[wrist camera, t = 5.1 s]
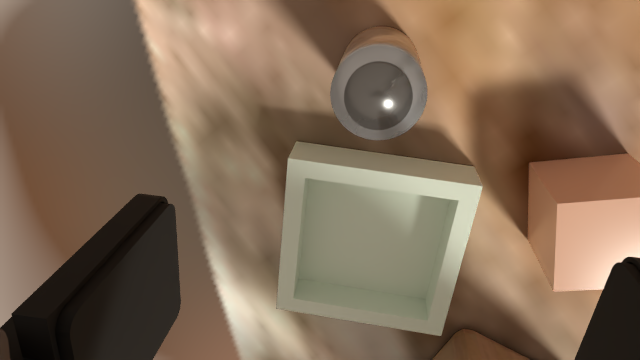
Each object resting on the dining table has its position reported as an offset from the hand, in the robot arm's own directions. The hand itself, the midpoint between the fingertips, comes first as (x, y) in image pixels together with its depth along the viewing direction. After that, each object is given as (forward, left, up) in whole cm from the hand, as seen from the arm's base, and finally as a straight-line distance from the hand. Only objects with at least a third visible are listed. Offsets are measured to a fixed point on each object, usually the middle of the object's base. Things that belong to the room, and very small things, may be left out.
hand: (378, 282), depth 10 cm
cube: (+5, +12, -17) cm, 21 cm away
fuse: (-1, 0, -17) cm, 17 cm away
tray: (+9, +1, -17) cm, 19 cm away
